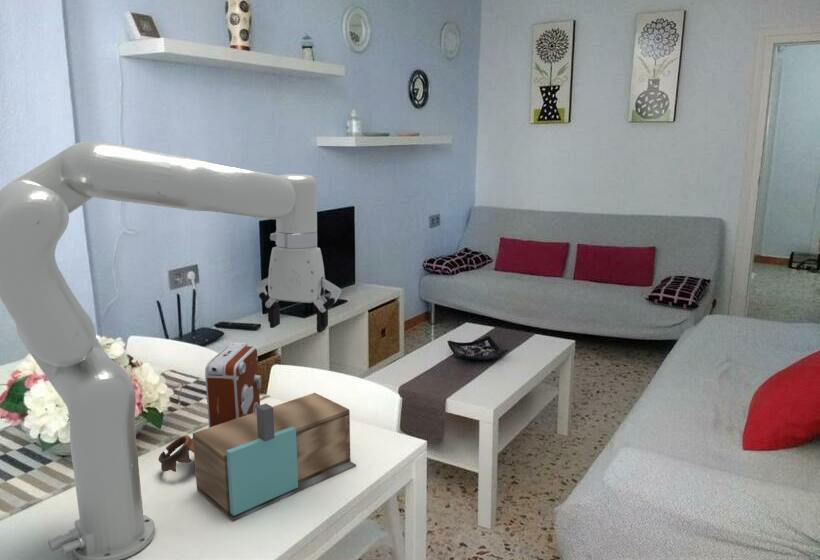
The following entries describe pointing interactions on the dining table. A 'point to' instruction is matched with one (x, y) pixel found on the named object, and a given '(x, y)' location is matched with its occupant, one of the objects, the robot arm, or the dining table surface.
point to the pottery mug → (176, 453)
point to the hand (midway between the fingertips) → (298, 328)
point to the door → (262, 465)
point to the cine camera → (232, 384)
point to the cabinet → (311, 416)
